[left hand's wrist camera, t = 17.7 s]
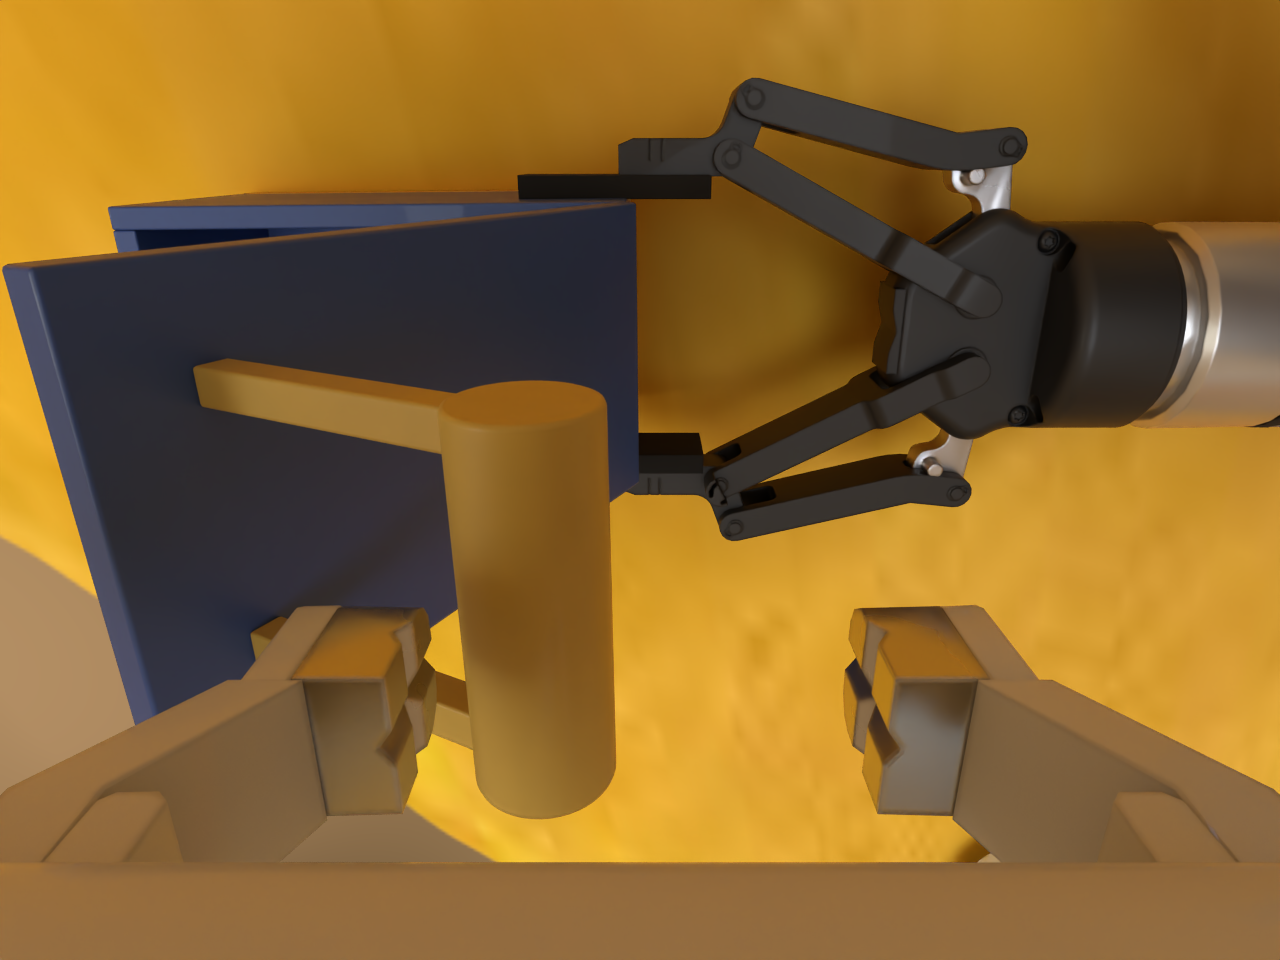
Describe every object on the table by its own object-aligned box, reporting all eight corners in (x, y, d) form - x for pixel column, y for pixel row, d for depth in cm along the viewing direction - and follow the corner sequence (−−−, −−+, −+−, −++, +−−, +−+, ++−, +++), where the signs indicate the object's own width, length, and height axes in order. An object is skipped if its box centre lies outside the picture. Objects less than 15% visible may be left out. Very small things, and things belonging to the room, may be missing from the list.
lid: (152, 790, 15) (524, 994, 11) (-3, 264, 11) (463, 307, 8) (619, 478, 29) (852, 523, 25) (614, 202, 25) (883, 206, 22)
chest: (288, 399, 39) (171, 480, 29) (252, 192, 35) (106, 206, 26) (633, 396, 38) (630, 476, 29) (630, 188, 35) (625, 201, 25)
